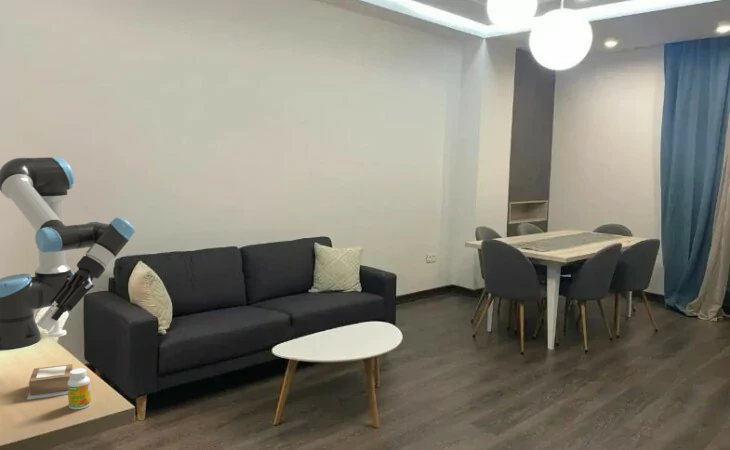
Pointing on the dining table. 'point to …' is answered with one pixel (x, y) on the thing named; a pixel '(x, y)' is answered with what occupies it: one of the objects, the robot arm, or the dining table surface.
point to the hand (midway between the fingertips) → (42, 327)
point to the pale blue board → (47, 395)
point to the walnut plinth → (50, 379)
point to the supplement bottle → (79, 389)
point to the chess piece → (56, 327)
